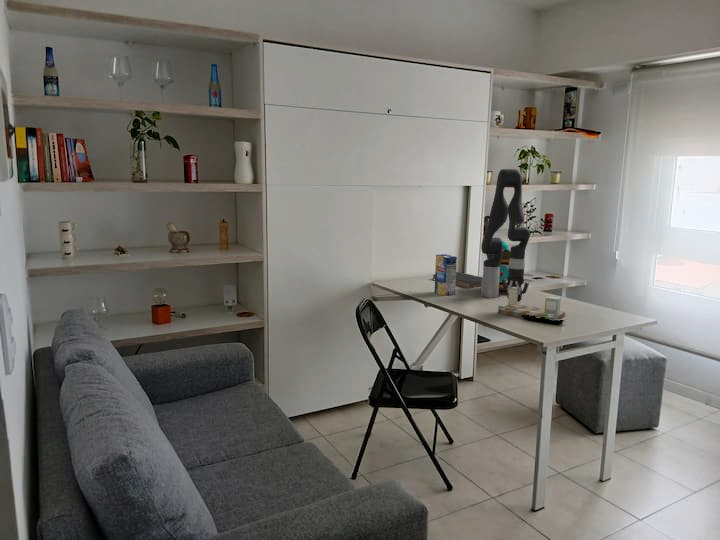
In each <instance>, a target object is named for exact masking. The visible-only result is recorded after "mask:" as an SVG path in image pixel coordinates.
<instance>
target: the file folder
mask: <svg viewBox="0 0 720 540" xmlns="http://www.w3.org/2000/svg"><path fill="white" fill-rule="evenodd" d="M433 279H435V273H434V274H432V280H433ZM481 279H483V276H477V275H473V274H469V273H465V272H464V273H463V272H460V271H459V272H458V271H456V286H458V285H459V286H458V287H462V286H463V288H465V289H473V288H474V287H476V288H481ZM474 289H475V288H474Z"/></svg>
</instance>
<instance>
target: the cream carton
mask: <svg viewBox="0 0 720 540" xmlns="http://www.w3.org/2000/svg"><path fill="white" fill-rule="evenodd" d="M507 305H514V306H516V305H521V300H520V301H519V302H518V290H517V288H516V287H513V288H511V289H509V298H507Z"/></svg>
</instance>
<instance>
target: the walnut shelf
mask: <svg viewBox="0 0 720 540" xmlns="http://www.w3.org/2000/svg"><path fill="white" fill-rule="evenodd" d="M497 309H498V310H497V313H498V314H501V315H506V316H513V317H517V318H523V317H522V316H523V315H529V316H535V317H545V318H550V319H560V320H561V319H562V318H564V317H565V316H566V311H562V310H560V314H559V315H557V316H556V315H553V314H547V313H544V312H545V308H542V307H537V306H536V307H535V306H529V305H522V304H518V305H516V306H514V305H508V304H506V305H502V306H501V305H498V308H497Z"/></svg>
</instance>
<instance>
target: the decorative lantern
mask: <svg viewBox="0 0 720 540" xmlns="http://www.w3.org/2000/svg"><path fill="white" fill-rule="evenodd" d="M502 243H503V248H502V257H501V264H500V280H499V291H500V290H503V291H504V288H503V284H502V280H503V279H507V278H508V271H509V260H510V249H509V244H508V243H507V242H506V241H505V240H502ZM485 255H486V260H487V259H489V258H491V257H492V256H493V254H485ZM509 285H510V284H509V282H508V281H507V286H508V287H509Z"/></svg>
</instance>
